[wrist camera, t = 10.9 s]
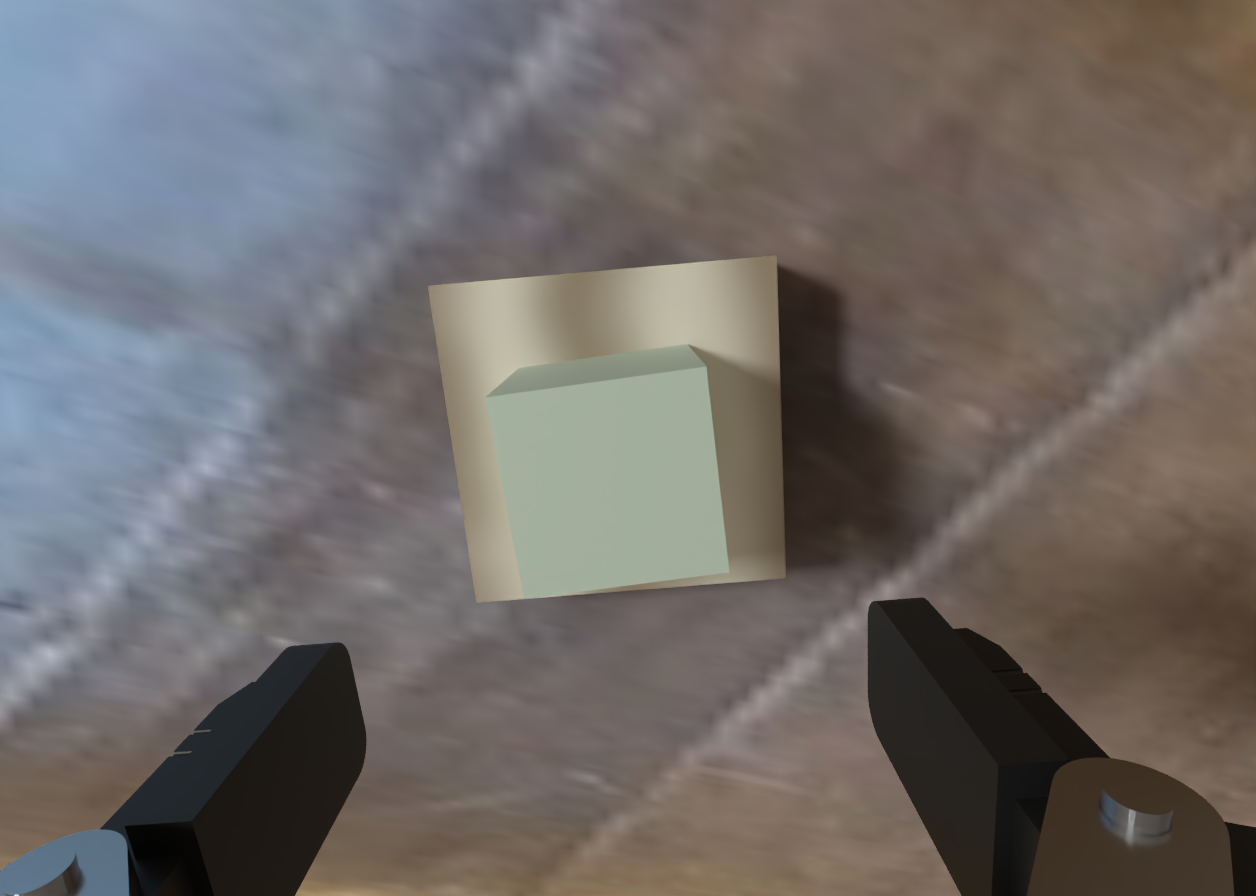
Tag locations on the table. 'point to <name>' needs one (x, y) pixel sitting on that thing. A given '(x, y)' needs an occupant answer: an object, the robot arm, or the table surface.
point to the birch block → (612, 324)
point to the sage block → (610, 471)
